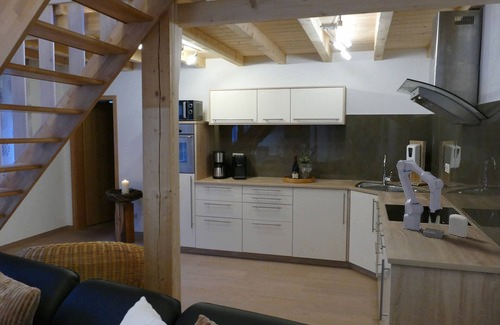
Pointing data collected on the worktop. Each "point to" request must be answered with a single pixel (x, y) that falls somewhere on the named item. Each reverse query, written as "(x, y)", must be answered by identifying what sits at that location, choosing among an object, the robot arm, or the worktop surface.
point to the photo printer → (458, 225)
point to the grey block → (433, 233)
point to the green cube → (435, 222)
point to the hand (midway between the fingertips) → (434, 221)
